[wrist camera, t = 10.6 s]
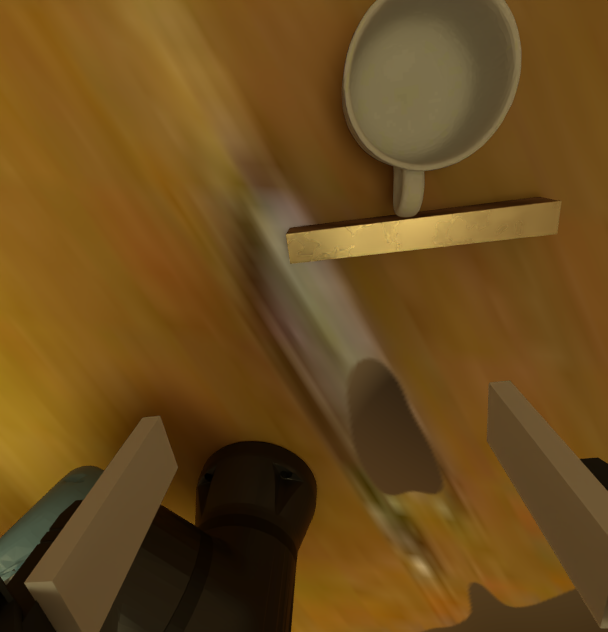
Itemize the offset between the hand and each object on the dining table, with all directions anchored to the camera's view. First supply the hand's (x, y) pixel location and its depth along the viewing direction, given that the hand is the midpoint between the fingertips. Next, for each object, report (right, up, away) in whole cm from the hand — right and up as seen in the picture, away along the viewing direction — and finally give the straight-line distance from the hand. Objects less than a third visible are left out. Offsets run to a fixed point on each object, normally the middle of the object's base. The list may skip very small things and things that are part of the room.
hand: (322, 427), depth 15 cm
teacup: (+7, +21, +16) cm, 27 cm away
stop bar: (+9, +13, +19) cm, 25 cm away
